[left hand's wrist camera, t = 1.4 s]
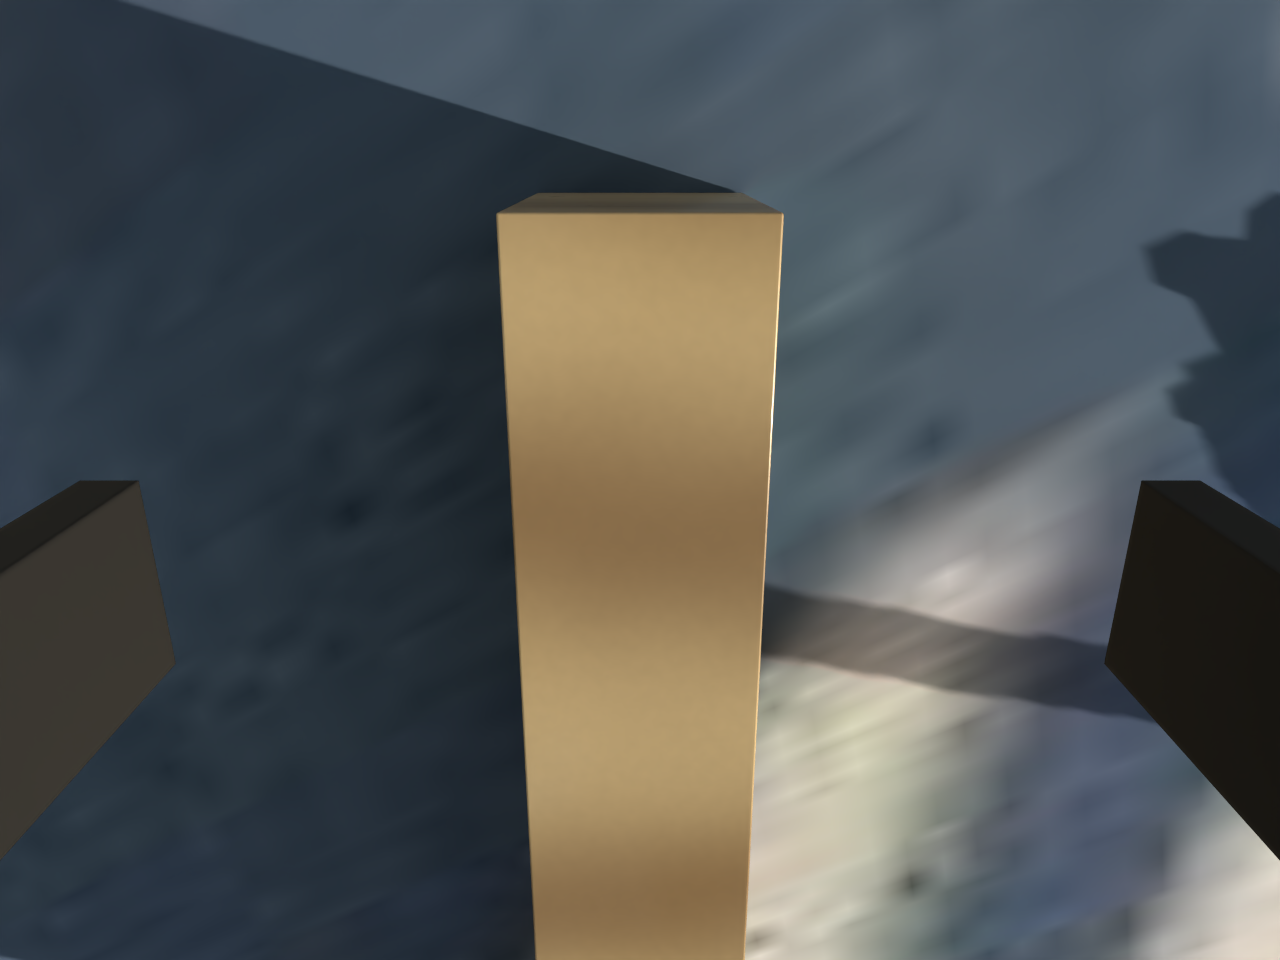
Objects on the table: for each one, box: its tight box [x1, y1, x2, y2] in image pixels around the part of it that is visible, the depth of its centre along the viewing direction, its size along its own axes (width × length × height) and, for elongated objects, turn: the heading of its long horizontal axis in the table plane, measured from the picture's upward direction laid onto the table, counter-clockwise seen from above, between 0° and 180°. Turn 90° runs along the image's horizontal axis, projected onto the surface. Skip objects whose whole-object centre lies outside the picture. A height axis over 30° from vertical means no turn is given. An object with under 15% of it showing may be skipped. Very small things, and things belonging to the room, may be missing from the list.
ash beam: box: [496, 193, 784, 960], centre depth 29 cm, size 36×6×8 cm, turn 0°
